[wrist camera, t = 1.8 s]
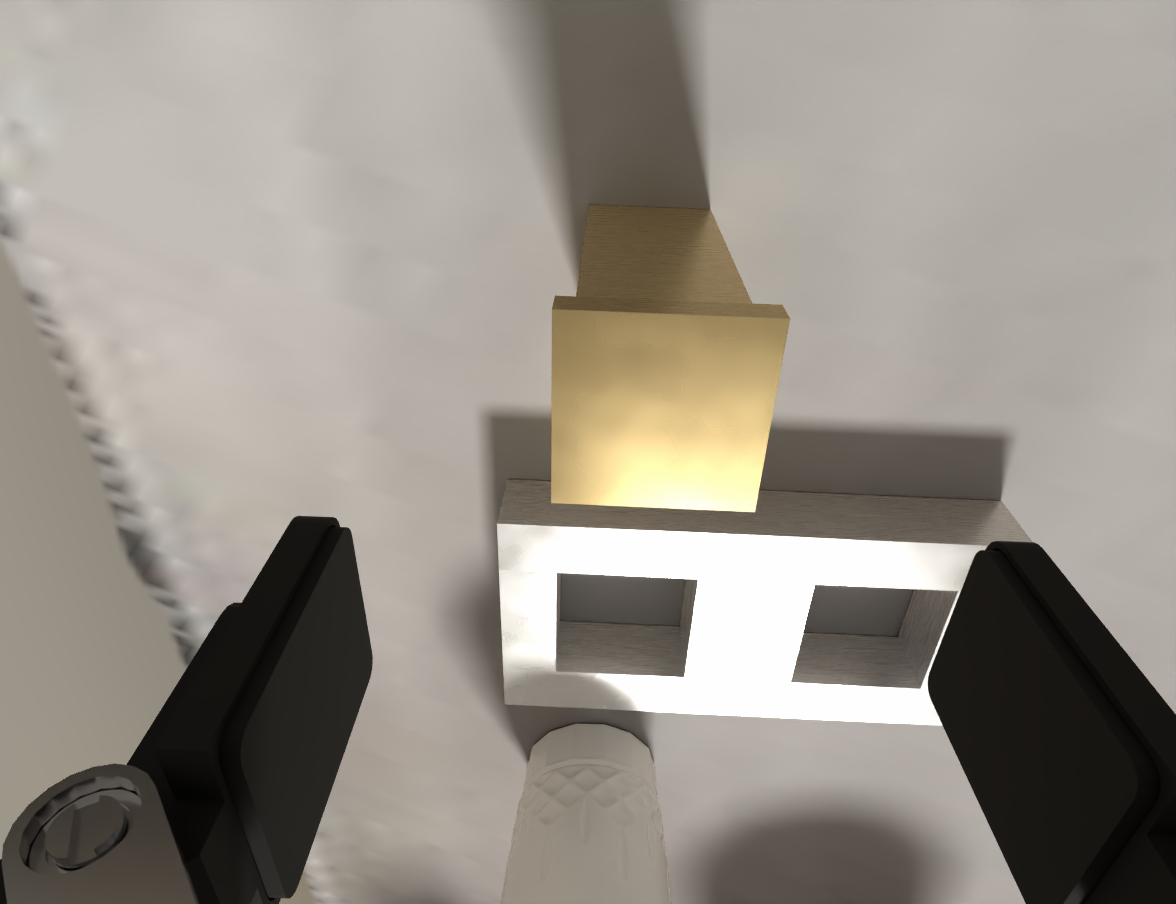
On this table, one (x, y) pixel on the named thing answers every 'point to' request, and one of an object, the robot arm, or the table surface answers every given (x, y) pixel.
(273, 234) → the table surface
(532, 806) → the white cup
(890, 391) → the table surface
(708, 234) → the brass square peg
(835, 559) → the rail
